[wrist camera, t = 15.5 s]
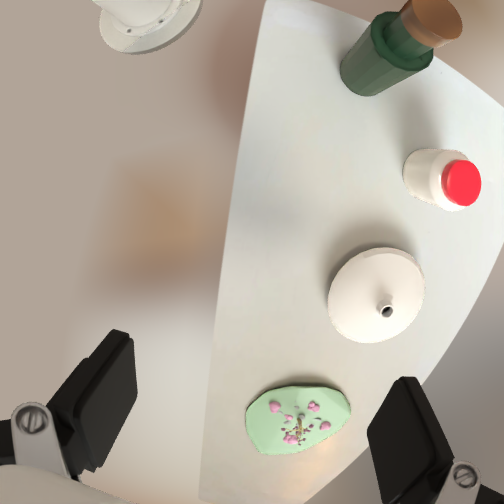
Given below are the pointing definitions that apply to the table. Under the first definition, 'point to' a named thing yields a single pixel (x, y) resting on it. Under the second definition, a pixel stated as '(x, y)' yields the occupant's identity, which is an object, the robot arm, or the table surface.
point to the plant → (295, 418)
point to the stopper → (431, 21)
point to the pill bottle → (442, 178)
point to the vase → (376, 295)
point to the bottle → (383, 56)
